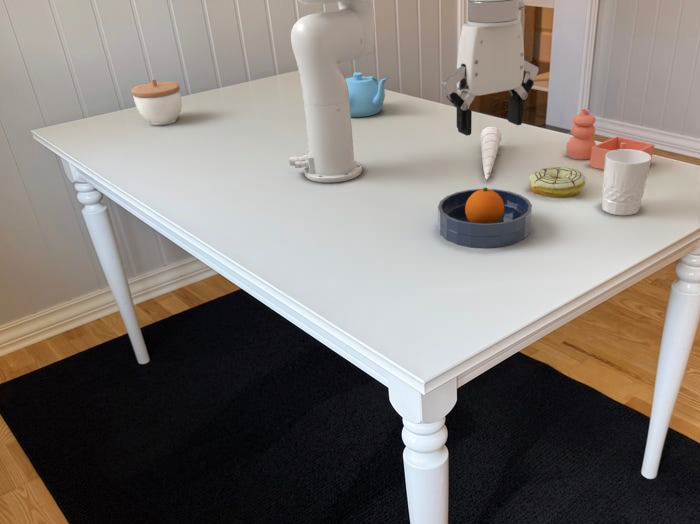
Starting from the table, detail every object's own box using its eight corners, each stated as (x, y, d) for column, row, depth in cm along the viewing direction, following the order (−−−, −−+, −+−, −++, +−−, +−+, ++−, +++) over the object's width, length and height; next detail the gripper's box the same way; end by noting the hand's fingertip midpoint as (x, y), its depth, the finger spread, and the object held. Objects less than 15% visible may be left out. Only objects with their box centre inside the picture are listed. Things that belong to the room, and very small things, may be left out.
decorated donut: (533, 179, 142) (534, 162, 140) (586, 184, 139) (588, 165, 137) (524, 198, 134) (526, 179, 131) (580, 203, 131) (582, 184, 128)
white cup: (635, 220, 123) (644, 166, 118) (592, 212, 127) (599, 159, 121) (647, 205, 129) (656, 152, 123) (606, 198, 132) (613, 146, 126)
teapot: (383, 103, 196) (381, 65, 190) (390, 117, 184) (388, 77, 178) (332, 107, 194) (329, 69, 189) (336, 122, 182) (332, 81, 176)
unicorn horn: (468, 181, 142) (468, 158, 140) (480, 145, 161) (481, 125, 159) (491, 182, 141) (492, 159, 139) (500, 146, 160) (501, 125, 158)
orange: (468, 237, 119) (469, 197, 114) (461, 222, 124) (462, 182, 120) (507, 234, 119) (509, 193, 115) (498, 219, 125) (500, 179, 120)
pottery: (651, 164, 147) (659, 117, 141) (626, 175, 141) (634, 127, 136) (580, 147, 158) (585, 103, 152) (555, 157, 153) (559, 112, 147)
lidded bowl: (196, 118, 191) (187, 76, 184) (161, 130, 182) (150, 87, 176) (165, 113, 196) (155, 72, 190) (129, 124, 188) (118, 82, 181)
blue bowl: (446, 254, 115) (446, 228, 112) (432, 216, 128) (432, 192, 125) (540, 247, 116) (542, 220, 113) (517, 210, 129) (518, 185, 126)
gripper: (526, 3, 108) (520, 114, 118) (430, 16, 102) (432, 132, 112) (555, 8, 102) (547, 124, 112) (455, 21, 96) (455, 143, 106)
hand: (489, 128), depth 112 cm, fingers open, 9 cm apart
